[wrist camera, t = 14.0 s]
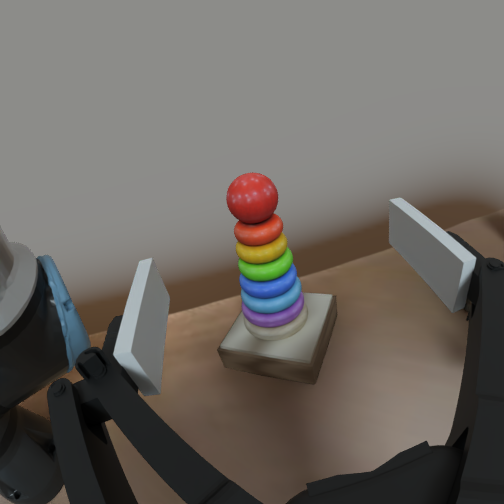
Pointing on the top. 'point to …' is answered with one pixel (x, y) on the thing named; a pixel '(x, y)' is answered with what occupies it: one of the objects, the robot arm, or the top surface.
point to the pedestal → (284, 345)
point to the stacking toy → (265, 261)
